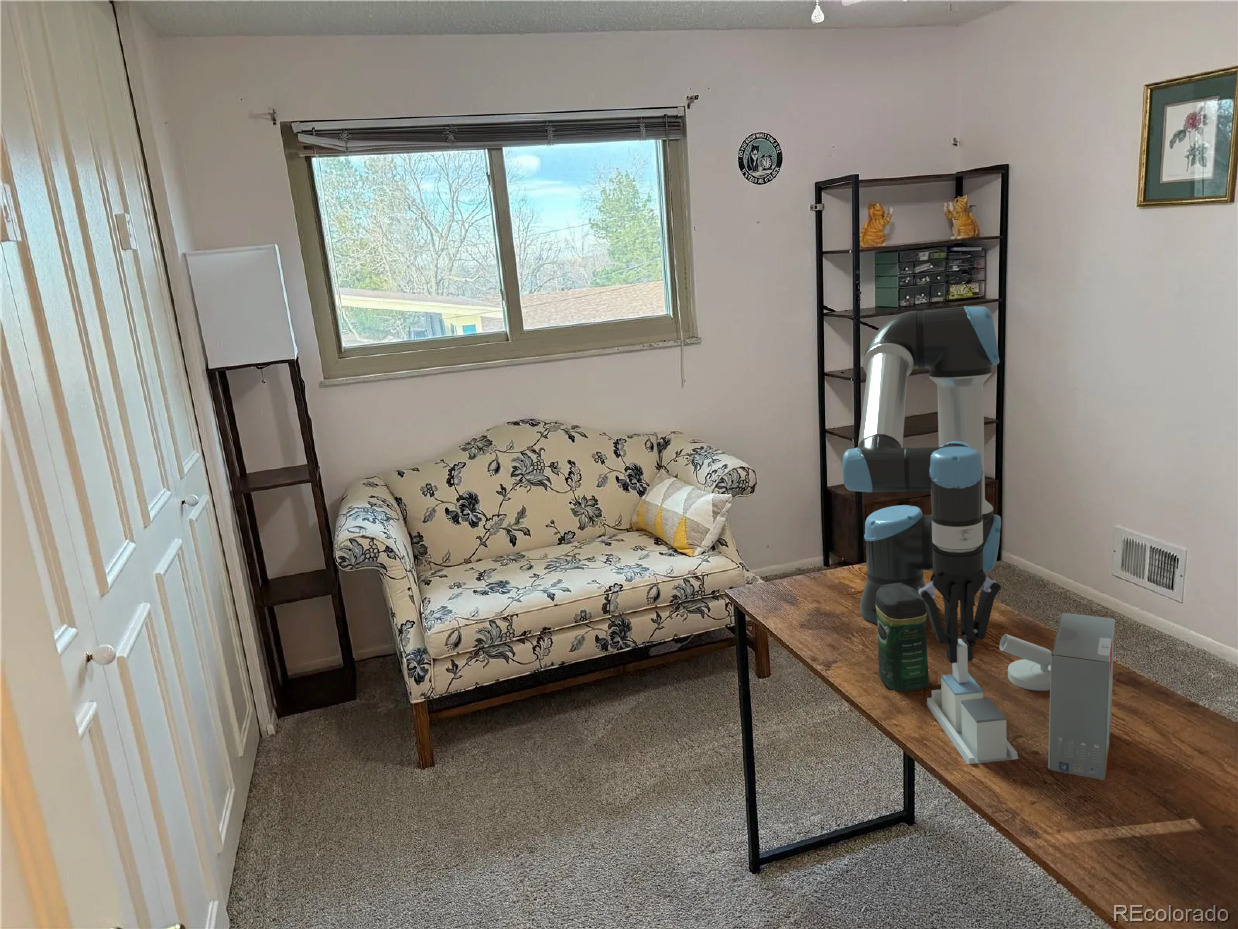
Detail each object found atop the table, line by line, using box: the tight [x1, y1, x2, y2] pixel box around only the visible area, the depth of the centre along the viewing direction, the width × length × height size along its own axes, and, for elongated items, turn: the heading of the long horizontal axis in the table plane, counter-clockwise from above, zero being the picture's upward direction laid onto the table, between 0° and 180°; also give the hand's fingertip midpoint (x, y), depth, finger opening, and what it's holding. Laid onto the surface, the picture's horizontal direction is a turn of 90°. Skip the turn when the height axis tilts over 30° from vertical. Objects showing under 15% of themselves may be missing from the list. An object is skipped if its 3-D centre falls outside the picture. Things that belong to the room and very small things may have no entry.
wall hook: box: [999, 633, 1052, 692], centre depth 150 cm, size 9×10×10 cm
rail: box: [925, 688, 1020, 765], centre depth 138 cm, size 18×8×3 cm, turn 0°
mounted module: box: [961, 697, 1008, 761], centre depth 132 cm, size 6×4×7 cm
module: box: [940, 672, 984, 732], centre depth 140 cm, size 6×4×7 cm
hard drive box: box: [1047, 612, 1116, 781], centre depth 129 cm, size 16×8×20 cm, turn 148°
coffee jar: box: [875, 583, 930, 692], centre depth 155 cm, size 10×8×19 cm
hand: (960, 678), depth 140 cm, fingers closed
